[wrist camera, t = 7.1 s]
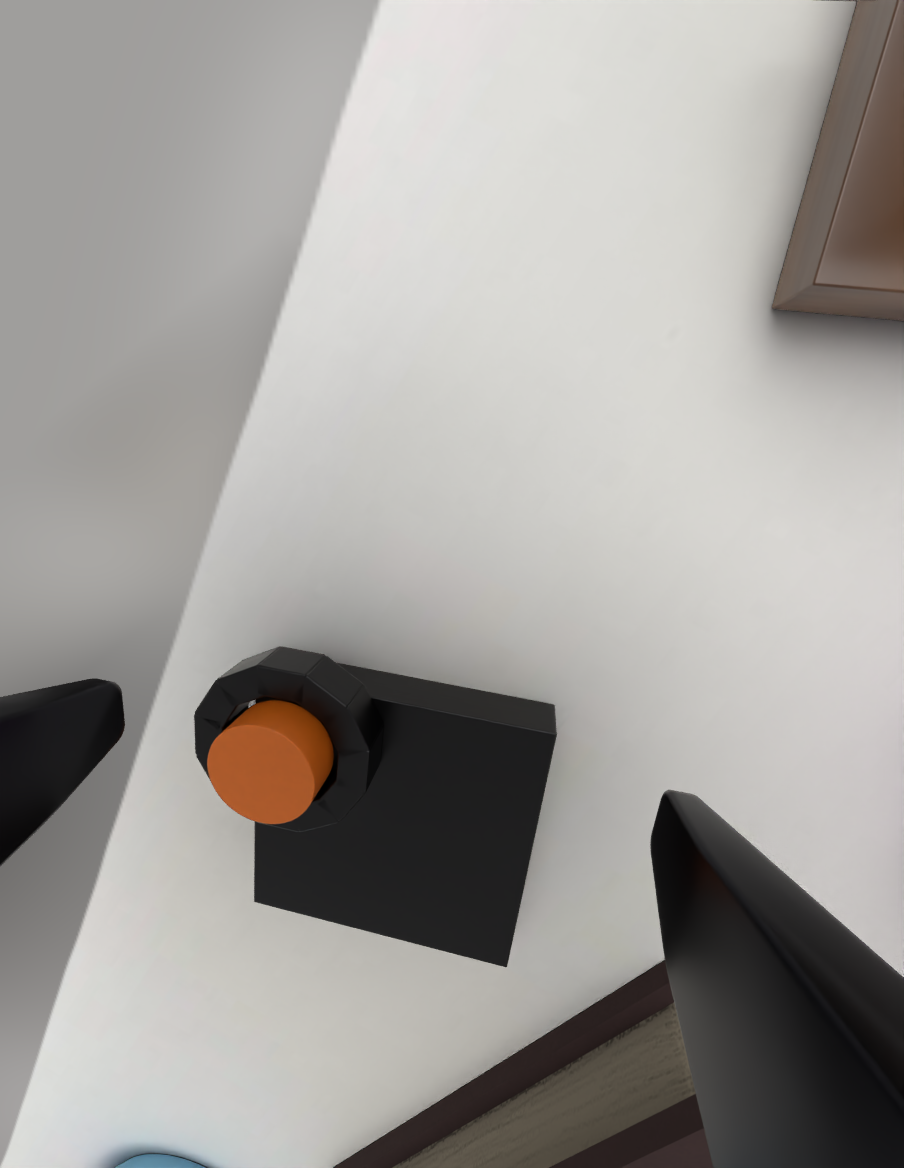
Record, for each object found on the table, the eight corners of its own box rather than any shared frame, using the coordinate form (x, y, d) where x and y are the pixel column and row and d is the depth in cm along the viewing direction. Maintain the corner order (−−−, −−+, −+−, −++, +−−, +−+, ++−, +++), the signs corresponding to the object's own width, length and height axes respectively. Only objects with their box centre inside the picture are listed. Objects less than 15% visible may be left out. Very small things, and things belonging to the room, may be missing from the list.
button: (235, 779, 20) (207, 810, 18) (235, 690, 18) (205, 714, 17) (331, 801, 19) (312, 835, 17) (337, 711, 18) (316, 738, 16)
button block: (250, 857, 25) (200, 930, 22) (251, 615, 22) (191, 652, 18) (509, 922, 24) (504, 1013, 20) (561, 672, 20) (567, 726, 16)
